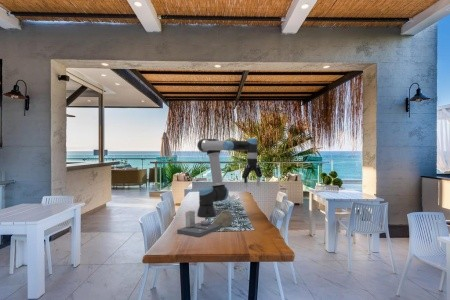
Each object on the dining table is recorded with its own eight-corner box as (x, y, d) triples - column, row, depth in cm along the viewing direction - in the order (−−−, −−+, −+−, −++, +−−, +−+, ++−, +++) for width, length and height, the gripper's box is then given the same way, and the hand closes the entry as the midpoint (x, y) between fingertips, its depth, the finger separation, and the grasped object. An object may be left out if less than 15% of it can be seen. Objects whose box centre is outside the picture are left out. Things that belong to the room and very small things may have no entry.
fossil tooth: (212, 227, 238) (233, 224, 239) (213, 228, 231) (234, 226, 232) (211, 211, 238) (231, 208, 239) (211, 212, 232) (232, 210, 233)
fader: (185, 227, 221) (185, 211, 221) (190, 225, 226) (190, 210, 226) (189, 227, 220) (189, 212, 219) (194, 225, 224) (194, 211, 224)
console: (177, 233, 216) (177, 225, 216) (199, 226, 236) (199, 219, 236) (199, 237, 206) (199, 229, 206) (220, 229, 227) (220, 221, 227)
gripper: (244, 158, 239) (244, 188, 240) (266, 158, 256) (266, 185, 257) (237, 158, 245) (237, 187, 245) (259, 157, 262) (259, 184, 262)
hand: (252, 186), depth 251 cm, fingers open, 13 cm apart
